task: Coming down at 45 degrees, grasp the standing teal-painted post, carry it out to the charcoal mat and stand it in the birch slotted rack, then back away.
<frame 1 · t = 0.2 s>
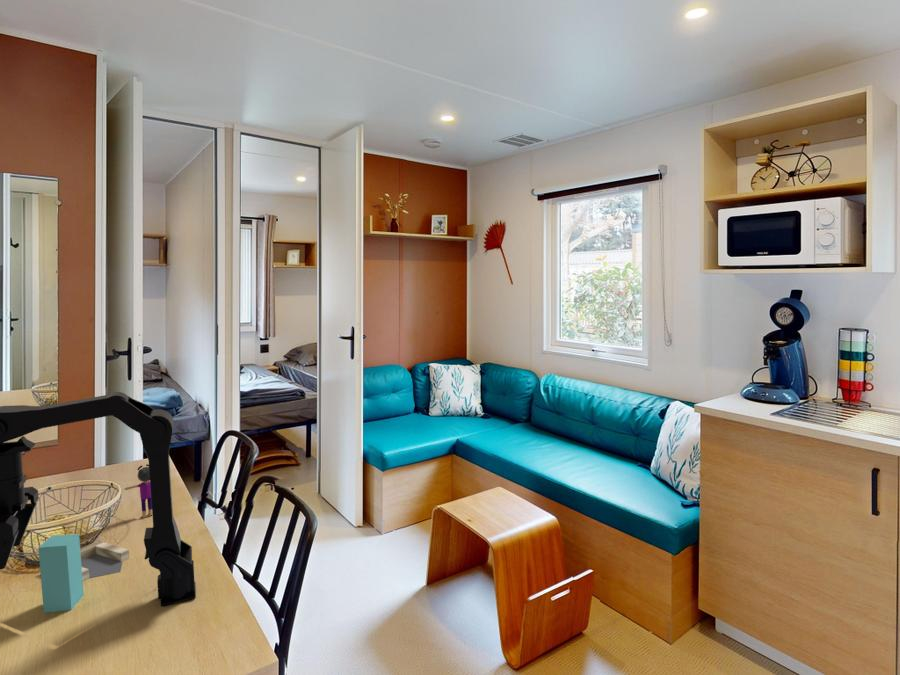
hand: (8, 556, 101), 15 cm above the table, tool pointing down, fingers open, 9 cm apart
teal post: (64, 605, 111), on the table
toy: (148, 518, 151), on the table
rack: (92, 565, 125), resting on mat
mat: (93, 566, 125), on the table
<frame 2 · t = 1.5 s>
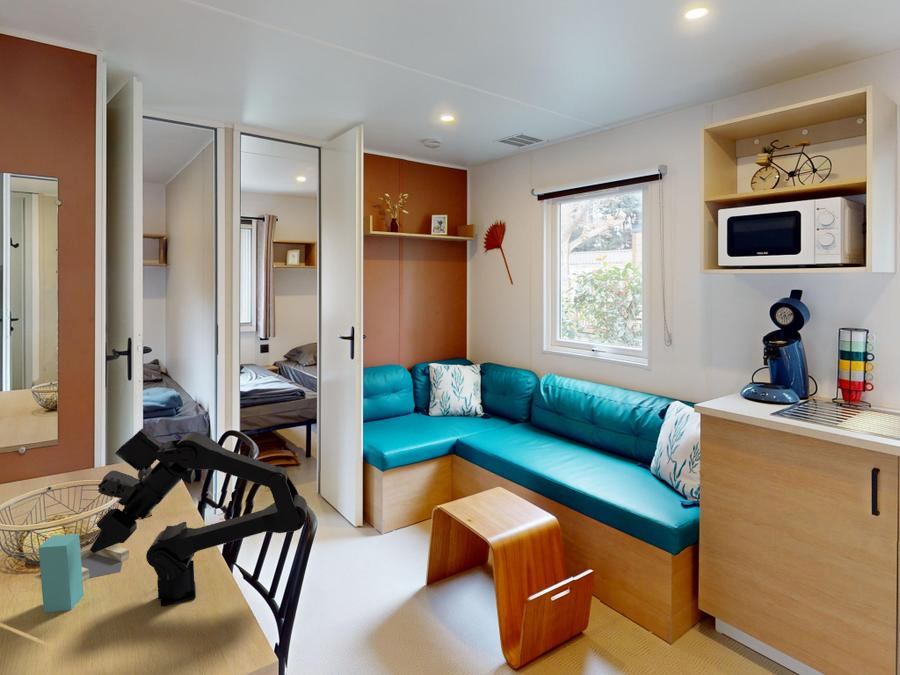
hand: (102, 540, 110), 13 cm above the table, tool tilted 45°, fingers open, 9 cm apart
nothing on the table moved.
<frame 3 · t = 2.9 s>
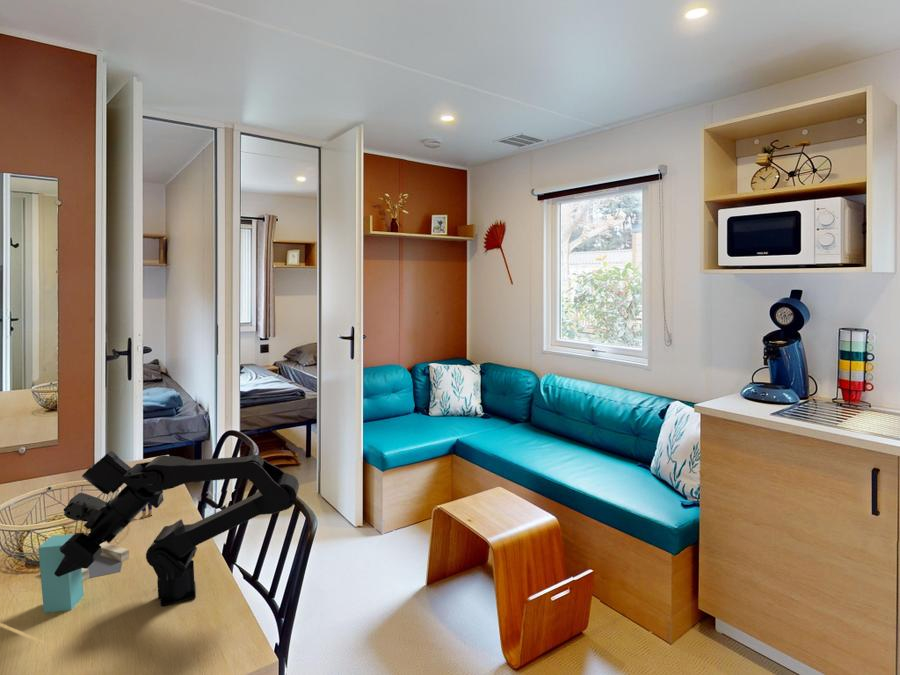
hand: (68, 562, 110), 9 cm above the table, tool tilted 45°, fingers open, 9 cm apart
nothing on the table moved.
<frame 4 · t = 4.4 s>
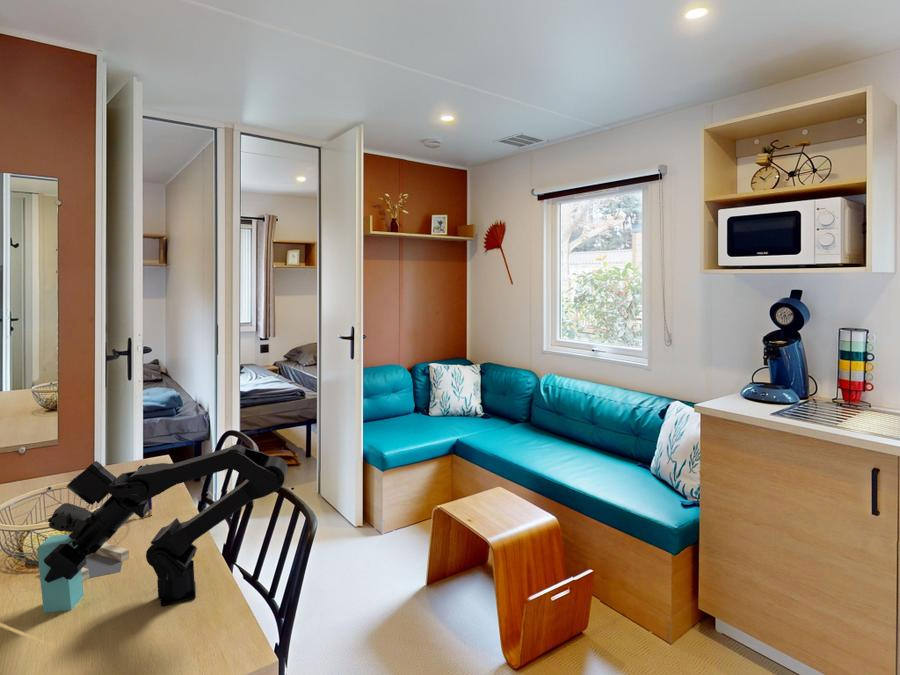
hand: (54, 573, 110), 7 cm above the table, tool tilted 45°, fingers closed on teal post, 5 cm apart
teal post: (64, 605, 111), on the table, touching gripper
everything else where it was.
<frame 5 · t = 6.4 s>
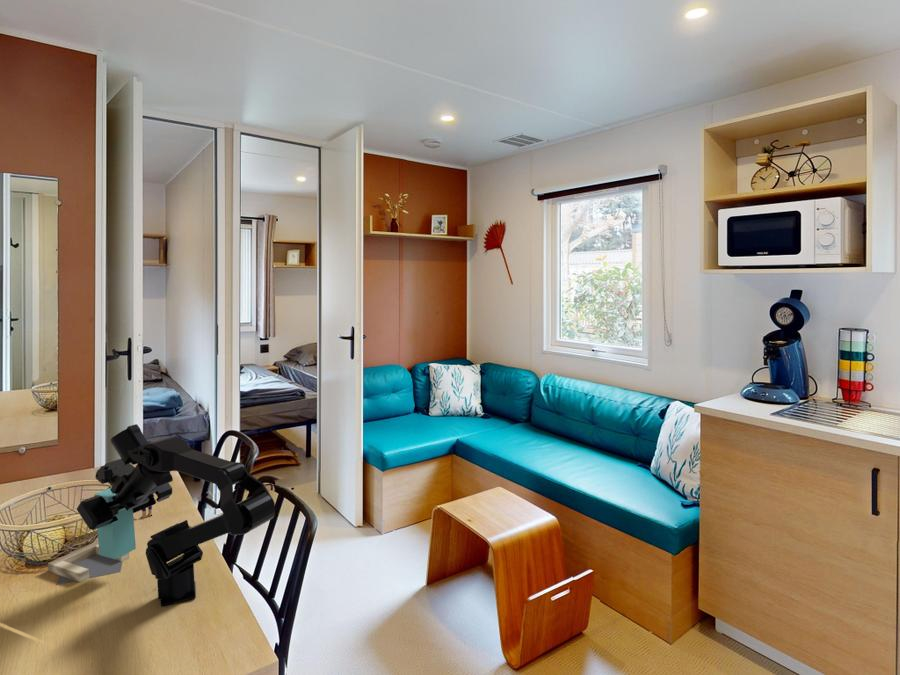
hand: (111, 520, 121), 13 cm above the table, tool tilted 45°, fingers closed on teal post, 5 cm apart
teal post: (117, 551, 121), point 6 cm above the table, touching gripper
everything else where it was.
when the fingers open (9 cm above the table, at t = 8.5 s): teal post drops 1 cm, resting on mat.
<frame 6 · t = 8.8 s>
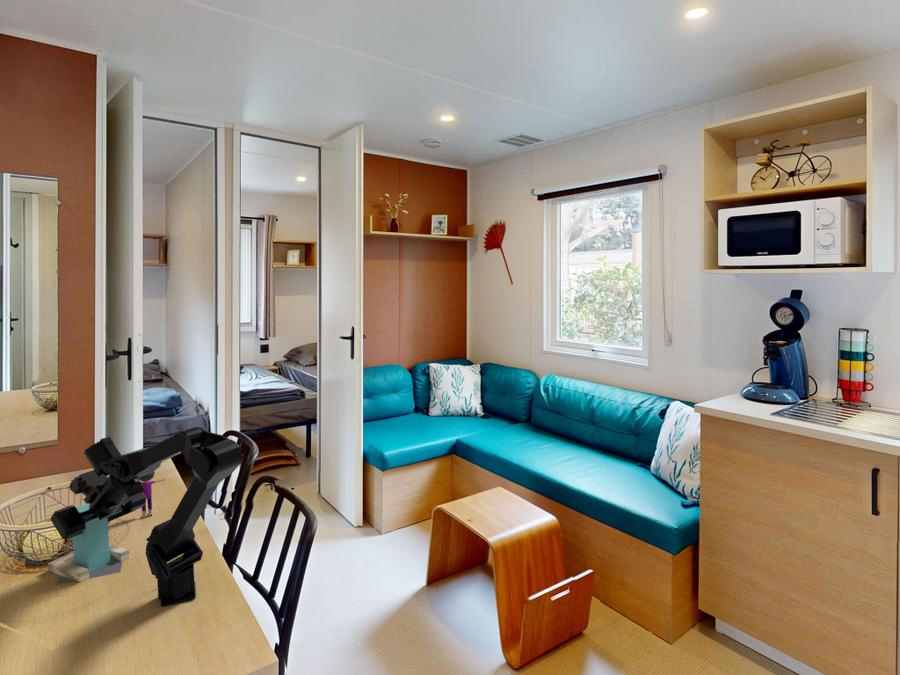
hand: (86, 529, 125), 9 cm above the table, tool tilted 45°, fingers open, 9 cm apart
teal post: (92, 565, 125), resting on mat
everything else where it was.
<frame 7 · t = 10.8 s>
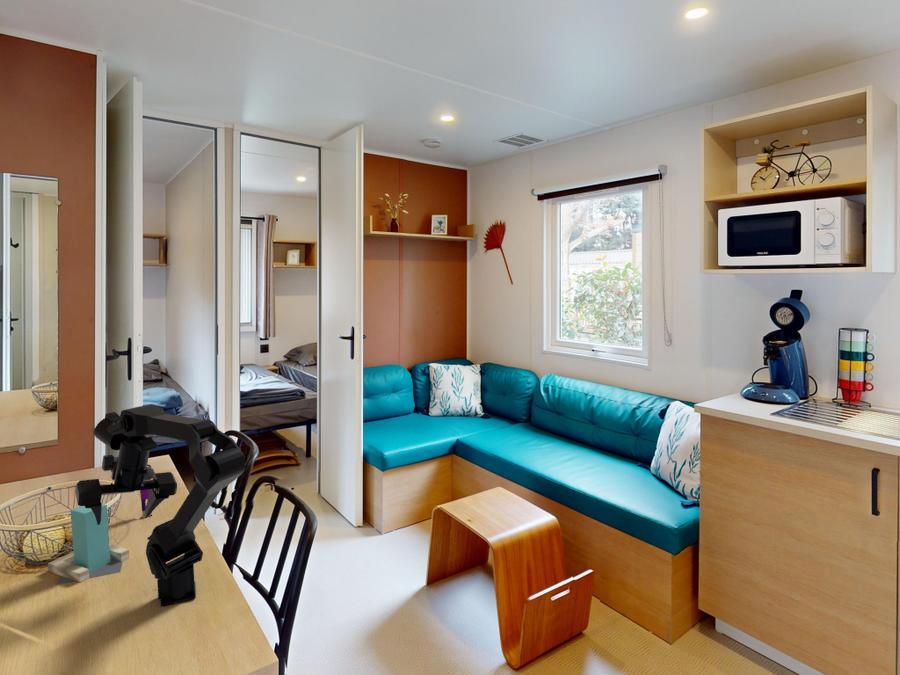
hand: (122, 520, 121), 13 cm above the table, tool tilted 20°, fingers open, 9 cm apart
nothing on the table moved.
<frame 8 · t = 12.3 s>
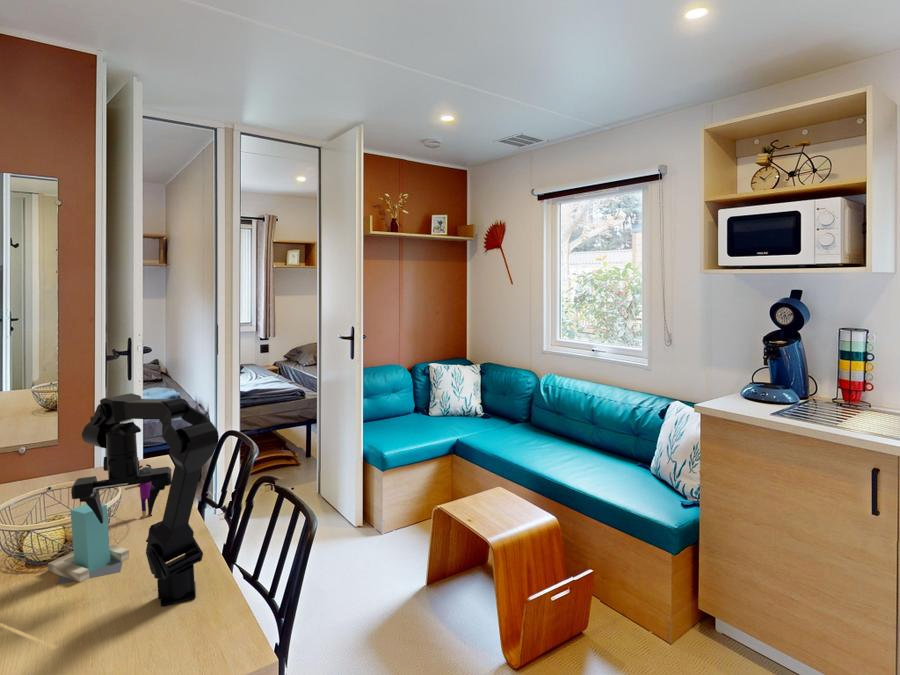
hand: (126, 518, 121), 13 cm above the table, tool pointing down, fingers open, 9 cm apart
nothing on the table moved.
at the end: teal post inside the target area on the rack (0.0 cm from its centre), point 0.0 cm above the rack's base; teal post tilted 0°; the gripper is holding nothing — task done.
